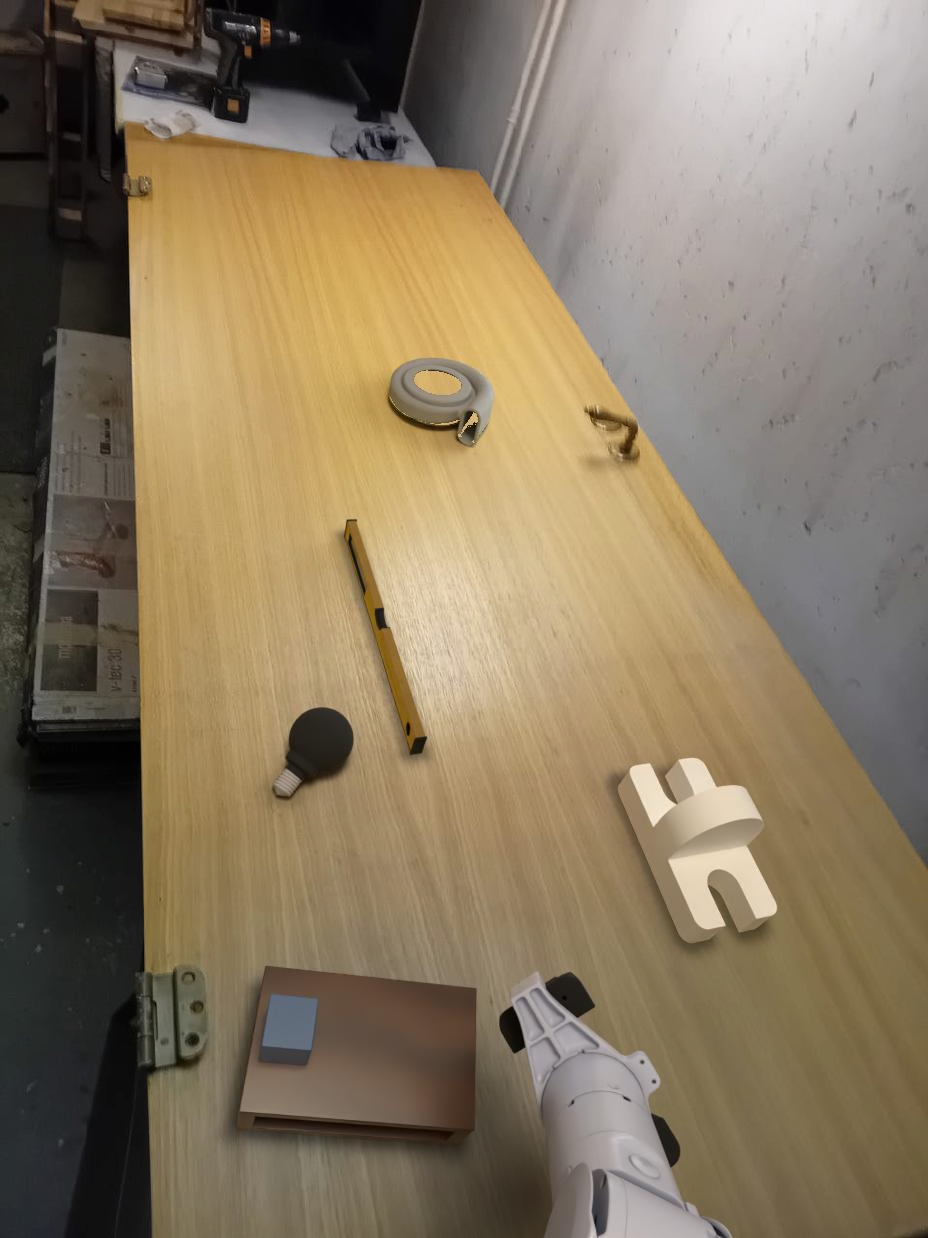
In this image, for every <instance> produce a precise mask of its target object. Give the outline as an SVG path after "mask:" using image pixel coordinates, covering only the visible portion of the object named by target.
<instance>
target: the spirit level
mask: <svg viewBox="0 0 928 1238" xmlns="http://www.w3.org/2000/svg"><path fill="white" fill-rule="evenodd" d="M343 538H344V539H345V541H346V544H347V548H348V550H349V554H350V557H351V560H352V564H353V567H354V571H355V573H356V577H357V580H358V583H359V584H358V585H359V586H360V590H361V593H362V597H363V600H364V604H365V606H366V609H367V613H368V616H369V619H370V620H369V621H370V623H371V626H372V628H373V633H374V637H375V640H376V642H377V645H378V649H379V652H380V655H381V659H382V661H383V665H384V668H385V671H386V676H387V678H388V681H389V685H390V689H391V691H392V695H393V698H394V701H395V705H396V708H397V711H398V715H399V718H400V721H401V724H402V728H403V730H404V734H405V739H406V741H407V744H408V748H409V750H410V751H409V755H416V754H417V755H418V754H422V753H423V751H424V749H425V745H426V743H427V740H428V736H427V735H426V733H425V731H424V727H423V725H422V722H421V719H420V715H419V712H418V709H417V706H416V703H415V700H414V695H413V693H412V691H411V687H410V684H409V682H408V678H407V674H406V672H405V669H404V665H403V662H402V660H401V656H400V653H399V650H398V647H397V644H396V640H395V637H394V635H393V634H394V633H393V631H392V629H391V626H388V625H387V622H386V616H385V607H384V603H383V600H382V597H381V594H380V592H379V588H378V585H377V582H376V578H375V576H374V572H373V569H372V566H371V563H370V560H369V557H368V553H367V550H366V548H365V544H364V541H363V538H362V535H361V532H360V529H359V526H358V519H357V518H353V519H352V518H351V519H350V518H349V519H346V521H345V527H344V534H343Z"/></svg>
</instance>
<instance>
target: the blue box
mask: <svg viewBox="0 0 928 1238" xmlns="http://www.w3.org/2000/svg"><path fill="white" fill-rule="evenodd" d="M318 1002H319V999H318V998H308V997H298V996H288V995H278V994H270V998H269V1004H268V1010H267V1015H266V1021H265V1027H264V1032H263V1038H262V1044H261V1049H260V1055H259V1061H262V1062H273V1063H284V1064H296V1065H307V1063H308V1060H309V1057H310V1054H311V1051H312V1046H313V1038H314V1031H315V1024H316V1016H317V1009H318Z"/></svg>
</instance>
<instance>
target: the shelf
mask: <svg viewBox="0 0 928 1238" xmlns="http://www.w3.org/2000/svg"><path fill="white" fill-rule="evenodd" d="M261 981H262V982H261V987H260V993H259V998H258V1002H257V1003H258V1004H257V1010H256V1015H255V1020H254V1026H253V1031H252V1036H251V1042H250V1048H249V1052H248V1059H247V1064H246V1068H245V1069H246V1070H245V1075H244V1080H243V1085H242V1090H241V1097H240V1101H239V1107H238V1113H237V1120H236V1130H240V1131H256V1132H266V1133H267V1132H269V1133H281V1134H293V1135H294V1134H295V1135H308V1136H319V1137H320V1136H321V1137H334V1138H345V1139H346V1138H347V1139H349V1138H350V1139H360V1140H362V1139H363V1140H374V1141H389V1142H402V1143H412V1144H413V1143H415V1144H416V1143H417V1144H428V1145H442V1146H455V1147H456V1146H458V1145H459V1144H460V1143H462V1141H464V1140H465V1139H466V1138H467V1137H468V1136H469V1135H471V1134H472V1133H473V1132H474V1131H475V1130H476V1073H477V1072H476V1070H477V1069H476V1067H477V1065H476V1064H477V1063H476V1062H477V1061H476V1060H477V1056H476V1055H477V987H472V986H461V985H451V984H443V983H433V982H422V981H414V980H405V979H395V978H386V977H377V976H366V975H359V974H347V973H340V972H339V973H337V972H328V971H319V970H311V969H301V968H290V967H282V966H271V965H265V966H264V971H263V978H262V980H261ZM270 994H278V995H288V996H298V997H308V998H318V999H319V1002H318V1009H317V1016H316V1024H315V1031H314V1038H313V1046H312V1051H311V1054H310V1057H309V1060H308V1063H307V1065H296V1064H284V1063H273V1062H262V1061H259V1055H260V1049H261V1044H262V1038H263V1032H264V1027H265V1021H266V1015H267V1010H268V1004H269V998H270Z"/></svg>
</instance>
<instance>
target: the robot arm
mask: <svg viewBox="0 0 928 1238" xmlns="http://www.w3.org/2000/svg"><path fill="white" fill-rule="evenodd" d="M508 992H509V1002H510V1004H511V1006H509V1007H508V1008H506V1009H505V1010H503V1011H502V1012H501V1014H500V1015H499V1017H498V1018H499V1019H498V1027H499V1031H500V1033H501V1035H502V1037H503V1039H504V1040H505V1042H506V1043H507V1046H508V1047H509V1049H510V1050H511V1052H512V1053H513V1054H515V1055H516V1054H518V1053H519V1052H521V1051H522V1050H524V1049H525V1051H526V1056H527V1061H528V1066H529V1071H530V1075H531V1081H532V1087H533V1090H534V1096H535V1100H536V1105H537V1111H538V1116H539V1118H540V1119H539V1120H540V1123H541V1126H542V1128H543V1130H544V1139H545V1147H546V1155H547V1164H548V1173H549V1174H548V1175H549V1181H550V1193H551V1203H552V1210H551V1213H550V1216H549V1218H548V1222H547V1226H546V1229H545V1232H544V1236H543V1238H733V1236H732V1234H731V1233H730V1231H729V1229H728V1228H727V1226H726V1225H725V1224H723V1223H722V1222H720V1221H718V1220H717V1219H714V1218H711V1217H710V1216H700V1214H699V1211H698V1209H697V1206H696V1205H695V1204H693V1203H690V1202H688V1201H684V1200H683V1198H682V1195H681V1193H680V1189H679V1187H678V1184H677V1181H676V1179H675V1176H674V1173H673V1171H672V1168H673V1167H674V1166H675V1165H676V1164H677V1163H678V1161H679V1159H680V1158H681V1146H680V1143H679V1141H678V1139H677V1137H676V1136H675V1134H674V1133H673V1131H672V1130H671V1128H670V1126H669V1124H668V1123H667V1121H666V1120H665V1118H664V1117H662V1116H660V1115H657V1114H655V1113H652V1112H651V1108H650V1104H649V1098H650V1096H651V1095H652V1094H653V1093H654V1092H656V1091H657V1090H658V1089H659V1088H660V1087H661V1083H662V1082H661V1077H660V1075H659V1073H658V1070H657V1069H656V1067H655V1066H654V1065H653V1063H652V1061H651V1060H650V1057H649V1056H648V1055H647V1054H646V1053H645V1051H642V1050H636V1051H633V1052H632V1053H630V1054H627V1055H625V1054H622V1053H620V1051H618V1050H616V1048H615V1047H614V1046H612V1045H610V1044H609V1042H607V1041H606V1040H605V1039H603V1038H602V1037H601V1036H600V1035H598V1034H597V1033H596V1032H595V1031H594V1030H592V1029H591V1028H590V1027H589V1026H588V1025H586V1024H585V1023H584V1022H582V1021H581V1020H580V1019H579V1018H580V1017H583V1015H585V1014H586V1013H589V1012H590V1011H591V1010H593V1009H595V1008H596V1004H595V1002H594V1000H593V999H592V998H591V996H590V994H589V992H588V991H587V989H586V987H585V986H584V984H583V982H582V981H581V979H580V978H579V977H578V976H576V974H574V973H573V972H572V971H568V972H565V973H562V974H560V975H558V976H553V977H551V978H550V979H549V980H547V981H545V980H544V979H543V978H542V976H541V974H540V972H539V971H535V972H533V973H531V974H530V975H528V976H526V977H525V978H523V979H522V980H520V981H519V982H517V983H515V984H513V986H511V987H509V991H508Z"/></svg>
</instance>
